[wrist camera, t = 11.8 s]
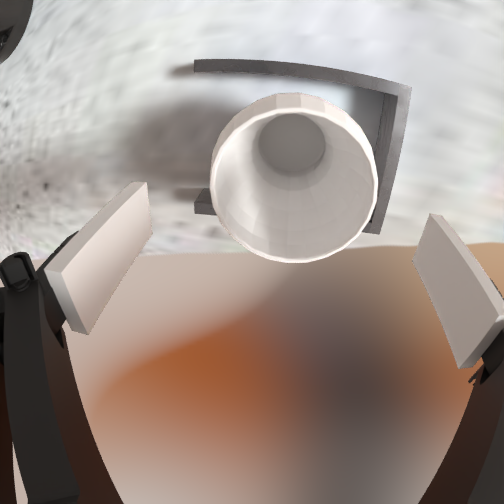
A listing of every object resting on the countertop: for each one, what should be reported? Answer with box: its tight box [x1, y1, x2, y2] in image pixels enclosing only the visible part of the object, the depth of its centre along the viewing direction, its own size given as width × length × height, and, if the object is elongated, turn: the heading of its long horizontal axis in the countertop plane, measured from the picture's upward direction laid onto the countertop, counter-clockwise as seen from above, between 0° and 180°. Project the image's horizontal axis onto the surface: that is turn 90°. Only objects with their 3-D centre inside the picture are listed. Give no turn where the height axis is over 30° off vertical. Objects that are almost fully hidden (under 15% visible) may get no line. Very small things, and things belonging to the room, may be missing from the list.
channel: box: [194, 59, 412, 234], centre depth 27 cm, size 19×15×4 cm
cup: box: [209, 93, 378, 263], centre depth 22 cm, size 11×11×15 cm
